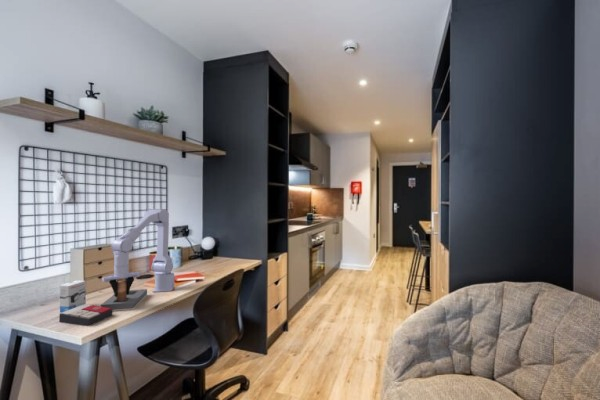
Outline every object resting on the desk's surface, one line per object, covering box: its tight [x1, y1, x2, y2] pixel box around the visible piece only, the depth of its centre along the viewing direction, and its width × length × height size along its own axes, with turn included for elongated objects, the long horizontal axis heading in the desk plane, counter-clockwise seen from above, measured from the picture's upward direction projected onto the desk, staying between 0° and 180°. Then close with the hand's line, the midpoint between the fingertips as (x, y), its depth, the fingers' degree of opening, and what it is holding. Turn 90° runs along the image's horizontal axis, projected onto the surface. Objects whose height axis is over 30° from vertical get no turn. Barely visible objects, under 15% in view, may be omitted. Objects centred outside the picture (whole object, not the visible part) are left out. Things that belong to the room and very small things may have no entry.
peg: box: [116, 280, 127, 301], centre depth 136 cm, size 4×4×8 cm
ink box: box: [59, 279, 87, 313], centre depth 132 cm, size 8×5×12 cm, turn 168°
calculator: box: [58, 303, 113, 327], centre depth 122 cm, size 11×4×15 cm
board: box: [100, 288, 148, 312], centre depth 140 cm, size 13×20×3 cm, turn 12°
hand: (121, 295), depth 135 cm, fingers closed on peg, 4 cm apart
